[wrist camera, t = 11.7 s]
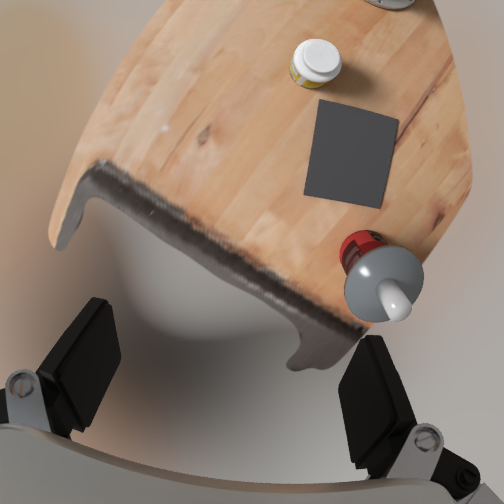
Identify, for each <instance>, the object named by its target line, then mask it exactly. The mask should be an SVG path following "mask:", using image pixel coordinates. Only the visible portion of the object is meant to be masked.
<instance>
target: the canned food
mask: <svg viewBox="0 0 504 504" xmlns="http://www.w3.org/2000/svg"><path fill="white" fill-rule="evenodd" d="M385 245H388V244H387V243H386V241H385V240H384V239H383V238H382V237H381V236H380V235H379V234H377V233H375V232H372V231H367V230H363V231H358V232H355V233H353V234H351V235H350V236H348V237H347V238H346V239H345V241H344V242H343V244H342V246H341V249H340V262H341V264H342V266H343V268H344V271H345V273H346V275H348V273H349V271H350V269H351V268H352V266H353V265H354V264H355V262H356V261H357V260H358V259H359V258H360V257H362V256H363V255H364V254H366V253H367V252H369V251H370V250H372V249H375V248H377V247H380V246H385Z"/></svg>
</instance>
